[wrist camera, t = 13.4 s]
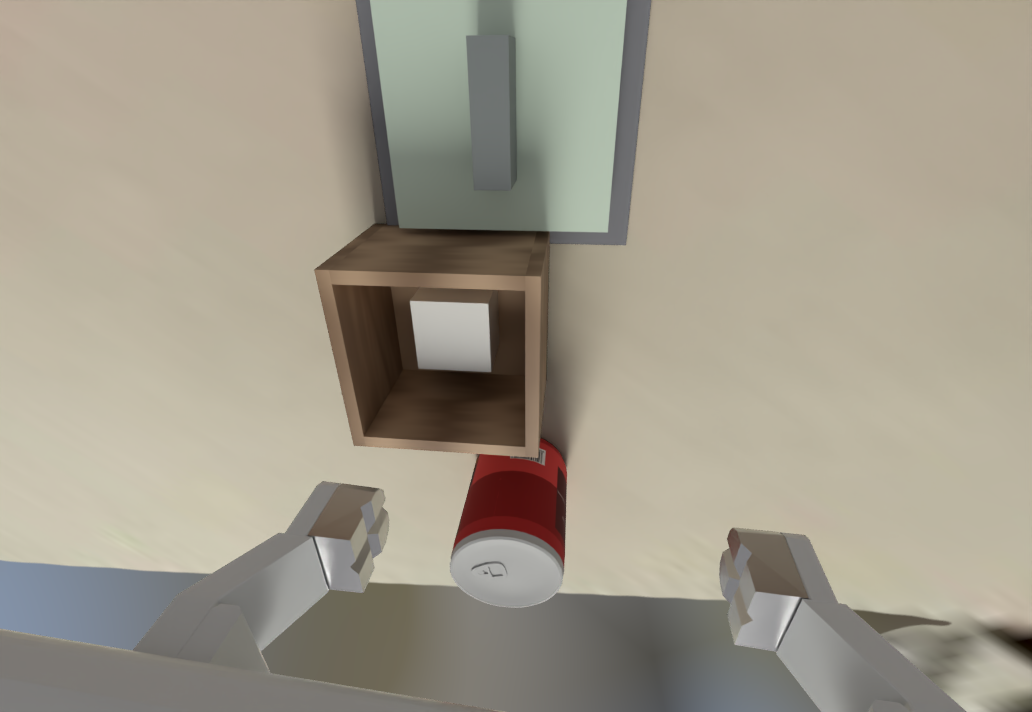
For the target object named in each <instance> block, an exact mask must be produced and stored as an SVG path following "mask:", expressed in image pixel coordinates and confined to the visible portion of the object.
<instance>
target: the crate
mask: <svg viewBox="0 0 1032 712" xmlns="http://www.w3.org/2000/svg"><path fill="white" fill-rule="evenodd" d="M549 253H550V231H513V230H466V229H419V228H399V225H387V224H374V225H372V226H371V227H370V228H368V229H367V230H366V231H364V232H363V233H362V234H361V235H359V236H358V237H357V238H355V239H354V240H353V241H351V242H350V243H349V244H347V245H346V246H345V247H344V248H342V249H341V250H340V251H338V252H337V253H336V254H334V255H333V256H332V257H330V258H329V259H328V260H326V261H325V262H324V263H323V264H321V265H320V266H319V267H317V268H316V269H315V270H314V271H315V275H316V279H317V284H318V288H319V293H320V297H321V302H322V306H323V311H324V315H325V319H326V324H327V328H328V333H329V337H330V342H331V346H332V351H333V355H334V359H335V364H336V368H337V373H338V377H339V382H340V386H341V390H342V395H343V399H344V404H345V408H346V413H347V417H348V422H349V426H350V430H351V435H352V439H353V444H354V446H368V447H383V448H398V449H413V450H428V451H443V452H458V453H473V454H488V455H503V456H518V457H533V458H538V455H539V445H540V436H541V427H542V417H543V408H544V398H545V389H546V377H547V336H548V294H549ZM420 287H424V288H455V289H485V290H498V313H499V347H498V350H497V354H496V357H495V361H494V364H493V368H492V371H491V372H477V371H457V370H437V369H418V361H417V353H416V345H415V337H414V330H413V322H412V314H411V306H410V300H411V299H412V297H413V296H414V294H415V293H416V292H417V290H418V289H419V288H420Z"/></svg>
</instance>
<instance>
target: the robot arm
mask: <svg viewBox="0 0 1032 712" xmlns="http://www.w3.org/2000/svg"><path fill="white" fill-rule="evenodd" d="M384 502H385V495H384V491H383V490H382V489H379V488H371V487H364V486H357V485H350V484H343V483H342V484H341V483H333V482H326V481H323V482H321V483H320V484H318V485H317V486H316V488H315V489H314V491H313V492H312V494H311V495H310V497H309V498H308V500H307V501H306V502H305V504H304V505H303V507H302V508H301V510H300V511H299V513H298V514H297V516H296V517H295V519H294V520H293V522H292V523H291V525H290V526H289V528H288V529H287V531H286V532H285V533H278V534H276V535H274V536H273V537H271V538H269V539H268V540H266V541H265V542H263V543H261V544H260V545H258V546H256V547H255V548H253V549H251V550H250V551H248V552H247V553H245V554H243V555H242V556H240V557H238V558H237V559H235V560H233V561H232V562H230V563H228V564H227V565H225V566H224V567H222V568H220V569H219V570H217V571H215V572H214V573H212V574H210V575H209V576H207V577H205V578H204V579H202V580H201V581H199V582H197V583H196V584H194V585H192V586H191V587H189V588H187V589H186V590H184V591H183V592H181V593H179V594H178V595H177V596H176V597H175V598H174V599H173V601H172V602H171V603H170V605H169V606H168V607H167V608H166V609H165V611H164V612H163V613H162V614H161V616H160V617H159V618H158V619H157V621H156V622H155V623H154V625H153V626H152V627H151V628H150V629H149V631H148V632H147V633H146V635H145V636H144V637H143V638H142V639H141V641H140V642H139V643H138V644H137V646H136V647H135V648H134V649H133V651H131V650H125V649H118V648H112V647H107V646H101V645H95V644H89V643H83V642H77V641H71V640H64V639H58V638H52V637H46V636H40V635H34V634H28V633H22V632H16V631H10V630H4V629H0V712H504V711H498V710H492V709H486V708H480V707H473V706H467V705H461V704H455V703H449V702H443V701H436V700H430V699H424V698H418V697H412V696H406V695H400V694H394V693H388V692H381V691H375V690H369V689H363V688H357V687H351V686H345V685H338V684H332V683H326V682H320V681H314V680H307V679H302V678H295V677H289V676H284V675H277V674H271V673H270V672H269V669H268V666H267V664H266V662H265V660H264V658H263V656H262V653H261V651H262V650H263V649H264V648H265V647H266V646H267V645H268V644H269V643H271V642H272V641H273V640H274V639H275V638H276V637H277V636H279V635H280V634H281V633H282V632H283V631H284V630H285V629H286V628H288V627H289V626H290V625H291V624H292V623H293V622H294V621H296V620H297V619H298V618H299V617H300V616H301V615H302V614H304V613H305V612H306V611H307V610H308V609H309V608H310V607H311V606H313V605H314V604H315V603H316V602H317V601H318V600H319V599H321V598H322V597H323V596H324V595H325V594H326V593H327V592H328V589H332V590H341V591H350V592H359V593H363V592H364V590H365V588H366V586H367V584H368V581H369V579H370V577H371V575H372V572H373V570H374V563H373V558H374V557H375V556H377V555H378V554H380V553H381V552H382V550H383V548H384V545H385V543H386V540H387V535H388V531H389V516H388V512H387V511H386V510H385V509H384V508H383V507H382V506H383V504H384ZM727 540H728V544H729V549H727V550H725V551H724V552H723V553H722V557H721V561H720V572H719V576H720V585H721V589H722V594H723V596H724V597H725V598H726V600H727V601H728V602H729V603H730V604H731V606H730V608H729V611H728V614H727V615H728V619H729V624H730V628H731V632H732V636H733V640H734V644H735V645H740V646H746V647H752V648H758V649H764V650H771V651H776V652H777V653H776V654H777V655H778V656H779V658H780V659H781V660H782V662H783V663H784V664H785V665H786V667H787V668H788V669H789V671H790V672H791V673H792V675H793V676H794V677H795V678H796V679H797V681H798V682H799V684H800V685H801V686H802V687H803V689H804V690H805V691H806V693H807V694H808V695H809V696H810V698H811V699H812V700H813V701H814V703H815V704H816V705H817V707H818V708H819V709H820V711H821V712H966V711H965V710H964V709H963V708H962V707H961V706H960V705H958V704H957V703H956V702H955V701H954V700H953V699H952V698H951V697H949V696H948V695H947V694H946V693H945V692H944V691H943V690H942V689H940V688H939V687H938V686H937V685H936V684H935V683H934V682H933V681H931V680H930V679H929V678H928V677H927V676H926V675H925V674H924V673H922V672H921V671H920V670H919V669H918V668H917V667H916V666H915V665H913V664H912V663H911V662H910V661H909V660H908V659H907V658H906V657H904V656H903V655H902V654H901V653H900V652H899V651H898V650H897V649H895V648H894V647H893V646H892V645H891V644H890V643H889V642H888V641H886V640H885V639H884V638H883V637H882V636H881V635H880V634H879V633H877V632H876V631H875V630H874V629H873V628H872V627H871V626H870V625H868V624H867V623H866V622H865V621H864V620H863V619H862V618H861V617H859V616H858V615H857V614H856V613H855V612H854V611H853V610H852V609H850V608H849V607H848V606H847V605H846V604H840V603H838V601H837V599H836V597H835V595H834V593H833V590H832V588H831V586H830V584H829V582H828V579H827V577H826V575H825V573H824V571H823V568H822V566H821V564H820V562H819V560H818V557H817V555H816V553H815V551H814V549H813V546H812V544H811V542H810V540H809V539H808V538H807V537H806V536H805V535H799V534H790V533H779V532H773V531H763V530H753V529H743V528H732V529H731V530H730V532H729V535H728V538H727Z"/></svg>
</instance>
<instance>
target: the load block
mask: <svg viewBox="0 0 1032 712" xmlns="http://www.w3.org/2000/svg"><path fill="white" fill-rule="evenodd" d="M410 306H411V314H412V322H413V330H414V337H415V345H416V353H417V361H418V369H437V370H457V371H477V372H491V371H492V368H493V364H494V361H495V357H496V354H497V350H498V347H499V313H498V290H485V289H455V288H424V287H420V288H419V289H418V290H417V292H416V293H415V294H414V296H413V297H412V299H411V300H410Z"/></svg>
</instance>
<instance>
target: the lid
mask: <svg viewBox="0 0 1032 712" xmlns="http://www.w3.org/2000/svg"><path fill="white" fill-rule="evenodd" d="M370 5H371V13H372V21H373V28H374V36H375V44H376V52H377V59H378V67H379V75H380V83H381V90H382V98H383V106H384V114H385V121H386V129H387V137H388V145H389V152H390V160H391V168H392V176H393V183H394V191H395V199H396V207H397V214H398V222H399V228H419V229H466V230H513V231H560V232H607V233H608V223H609V211H610V199H611V187H612V175H613V163H614V151H615V139H616V127H617V115H618V103H619V91H620V79H621V67H622V55H623V43H624V31H625V19H626V7H627V0H370Z"/></svg>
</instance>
